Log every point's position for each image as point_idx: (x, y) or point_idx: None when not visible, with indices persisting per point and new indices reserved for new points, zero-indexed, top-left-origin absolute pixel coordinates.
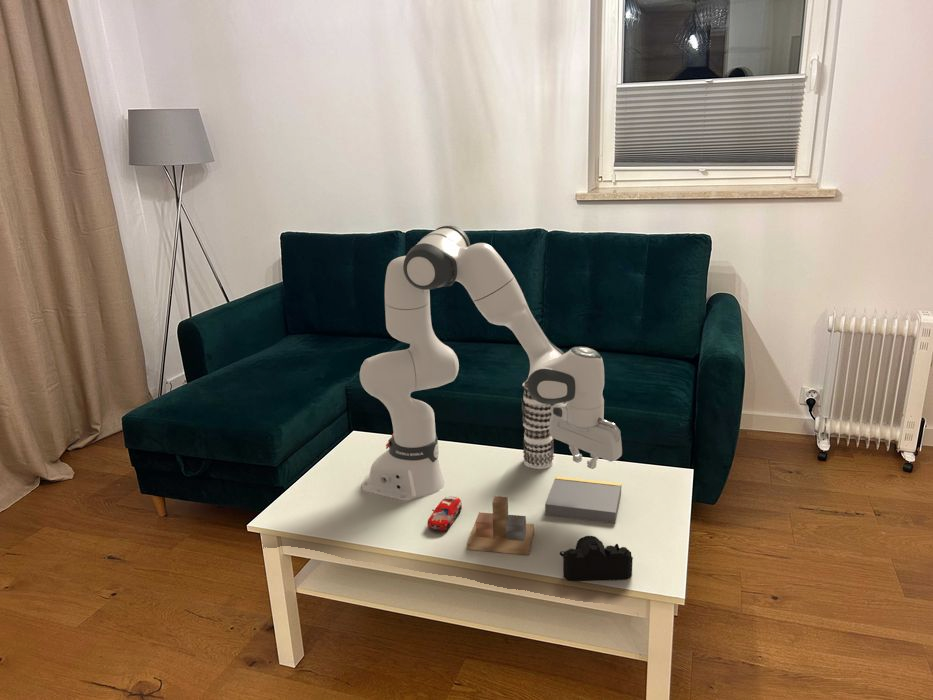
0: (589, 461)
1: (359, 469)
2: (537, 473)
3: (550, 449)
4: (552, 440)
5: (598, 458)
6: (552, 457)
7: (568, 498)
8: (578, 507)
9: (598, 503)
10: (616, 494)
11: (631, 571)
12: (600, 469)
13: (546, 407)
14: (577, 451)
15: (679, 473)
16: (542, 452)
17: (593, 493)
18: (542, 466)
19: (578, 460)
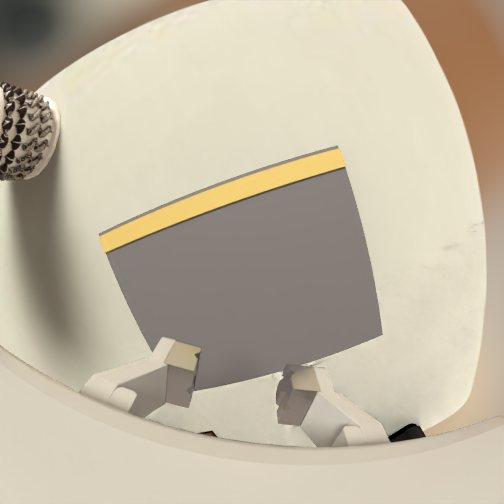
0: (294, 420)
1: None
2: (50, 192)
3: (22, 126)
4: (9, 98)
5: (357, 407)
6: (46, 116)
7: (214, 343)
8: (270, 370)
9: (319, 320)
10: (354, 233)
11: (422, 433)
12: (191, 50)
13: None
14: (151, 382)
15: (393, 3)
16: (12, 158)
17: (276, 271)
18: (44, 157)
19: (195, 379)
